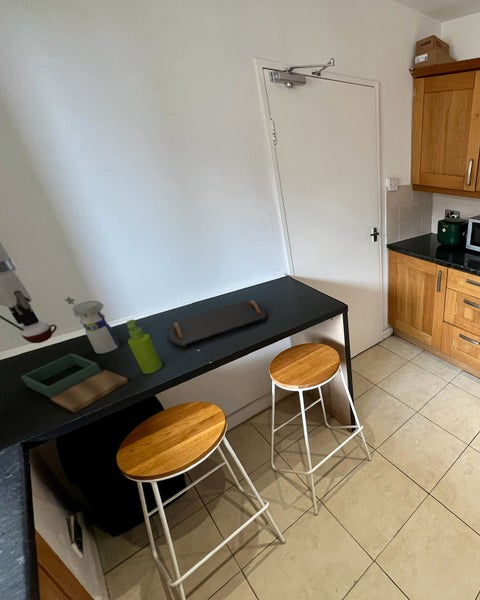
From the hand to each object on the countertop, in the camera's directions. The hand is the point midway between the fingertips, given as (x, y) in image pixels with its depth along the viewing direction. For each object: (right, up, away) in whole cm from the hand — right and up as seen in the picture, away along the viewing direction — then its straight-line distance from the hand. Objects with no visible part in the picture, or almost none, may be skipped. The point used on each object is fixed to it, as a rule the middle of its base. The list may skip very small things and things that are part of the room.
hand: (28, 322), depth 97 cm
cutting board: (+14, -23, +6) cm, 28 cm away
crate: (0, -21, +11) cm, 24 cm away
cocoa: (0, -6, +3) cm, 7 cm away
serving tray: (+35, -4, +43) cm, 56 cm away
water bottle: (-1, -12, +28) cm, 31 cm away
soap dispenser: (+26, -18, +16) cm, 35 cm away
